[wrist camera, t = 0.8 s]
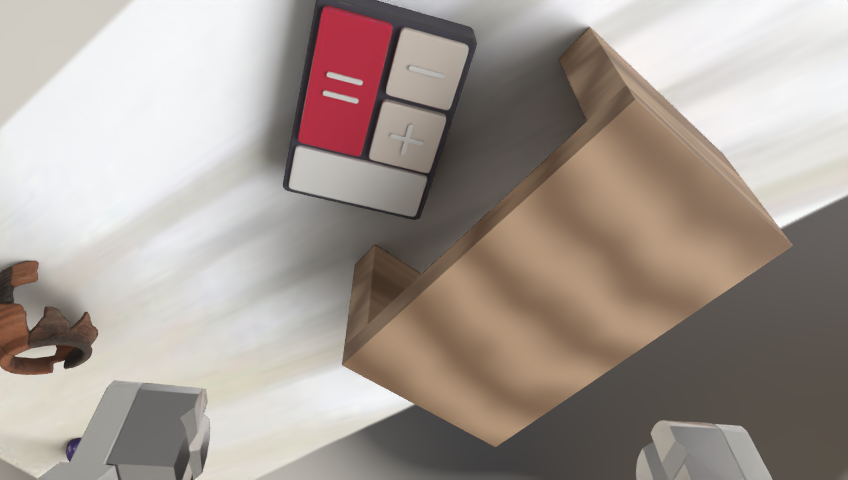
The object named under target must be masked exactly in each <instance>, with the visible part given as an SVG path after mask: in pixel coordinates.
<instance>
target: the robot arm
mask: <svg viewBox="0 0 848 480" xmlns="http://www.w3.org/2000/svg"><path fill="white" fill-rule="evenodd" d="M207 402H208V401H207V394H206V389H203V388H193V387H183V386H173V385H162V384H152V383H140V382H128V381H116V380H114V381H113V382H112V383H111V384H110V385H109V386H108V387H107V389H106V391H105V393H104V395H103V397H102V399H101V401H100V403H99V405H98V407H97V409H96V411H95V413H94V415H93V417H92V419H91V421H90V423H89V425H88V427H87V429H86V431H85V433H84V435H83V437H82V439H81V441H80V443H79V445H78V447H77V449H76V451H75V453H74V455H73V457H72V459H71V461H70V462H60V463H58V464H57V465H56V466H54V467H53V468H52V469H50V470H49V471H47V472H46V473H45V474H43V475H42V476H41V477H39V478H38V479H36V480H194V479H196V478H197V477H198V476H199V475H200V474H201V473H202V472H203V468H204V465H205V461H206V457H207V452H208V446H209V439H210V422H209V418H208V417H207V416H206V415H204V412H205V409H206V405H207ZM651 435H652V438H653V441H654V442H652V443H651V444H649V445H647V446H646V447H644V448H643V449H642V451H641V453H640V455H639V458H638V460H637V470H636V478H637V480H772V478H771V476H770V474H769V472H768V470H767V468H766V467H765V465H764V463H763V461H762V459H761V457H760V455H759V453H758V451H757V449H756V448H755V446H754V444H753V442H752V440H751V438H750V436H749V434H748V433H747V431H746V430H745V429H744V428H743V427H741V426H734V425H720V424H711V423H697V422H679V421H660V422H658V423H657V424H655V426H654V428H653V430H652V432H651Z"/></svg>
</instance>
